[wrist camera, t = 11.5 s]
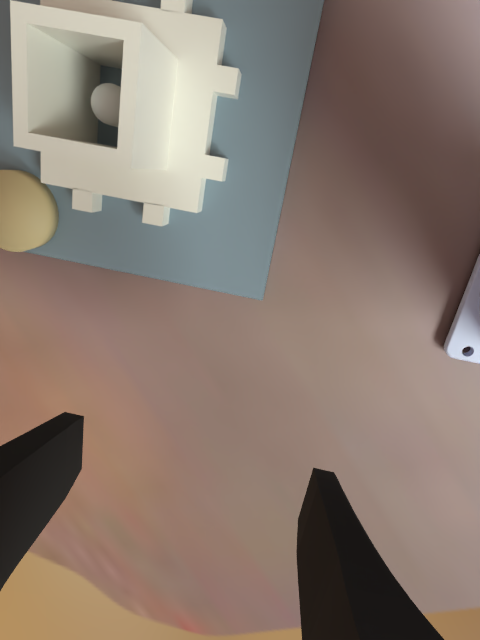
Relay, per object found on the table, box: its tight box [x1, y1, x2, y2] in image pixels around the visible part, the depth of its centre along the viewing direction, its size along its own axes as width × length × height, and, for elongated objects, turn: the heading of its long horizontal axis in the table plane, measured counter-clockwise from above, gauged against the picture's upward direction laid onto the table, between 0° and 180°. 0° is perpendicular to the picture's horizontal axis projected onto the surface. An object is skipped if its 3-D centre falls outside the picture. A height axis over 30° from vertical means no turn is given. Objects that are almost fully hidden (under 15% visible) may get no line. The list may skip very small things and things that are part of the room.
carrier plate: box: [0, 0, 324, 300], centre depth 16 cm, size 14×14×4 cm
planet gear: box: [10, 0, 242, 226], centre depth 15 cm, size 9×9×5 cm
